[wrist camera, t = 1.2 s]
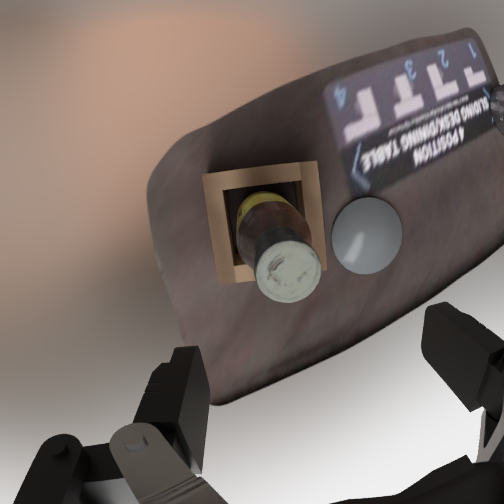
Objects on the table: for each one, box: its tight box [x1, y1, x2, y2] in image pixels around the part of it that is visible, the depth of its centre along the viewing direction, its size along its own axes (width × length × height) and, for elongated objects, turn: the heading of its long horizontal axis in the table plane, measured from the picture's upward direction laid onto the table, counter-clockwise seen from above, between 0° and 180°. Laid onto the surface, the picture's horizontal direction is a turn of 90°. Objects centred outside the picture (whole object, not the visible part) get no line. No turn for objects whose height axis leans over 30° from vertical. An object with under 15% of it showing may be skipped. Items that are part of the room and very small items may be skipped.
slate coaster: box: [331, 197, 402, 274], centre depth 38 cm, size 10×10×1 cm
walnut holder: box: [202, 161, 327, 285], centre depth 35 cm, size 12×12×5 cm
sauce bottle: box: [236, 191, 321, 303], centre depth 27 cm, size 7×6×20 cm
